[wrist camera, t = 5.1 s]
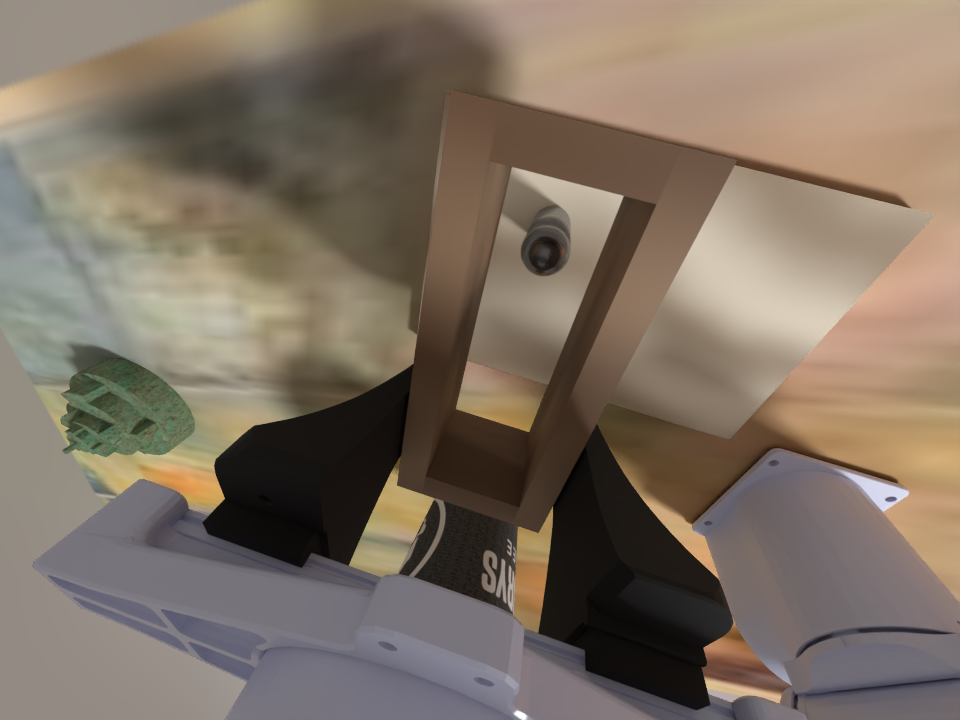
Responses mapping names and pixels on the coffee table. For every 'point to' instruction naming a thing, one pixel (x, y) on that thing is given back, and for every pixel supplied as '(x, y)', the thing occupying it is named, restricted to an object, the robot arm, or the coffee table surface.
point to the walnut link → (600, 318)
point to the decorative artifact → (124, 411)
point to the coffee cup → (465, 554)
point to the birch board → (694, 290)
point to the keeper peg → (547, 242)
